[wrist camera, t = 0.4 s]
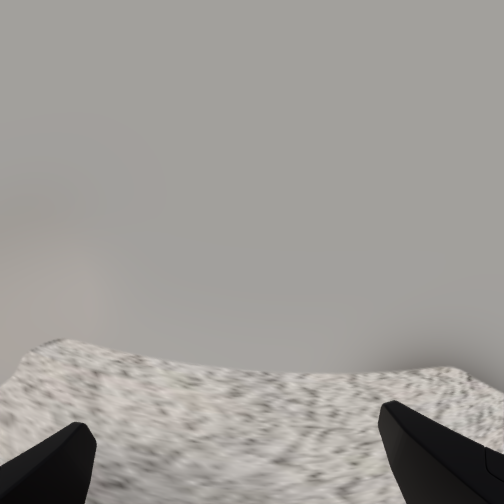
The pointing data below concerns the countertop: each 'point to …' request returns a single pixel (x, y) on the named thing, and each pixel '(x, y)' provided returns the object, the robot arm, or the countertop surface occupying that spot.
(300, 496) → the countertop surface
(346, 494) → the countertop surface
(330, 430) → the countertop surface
